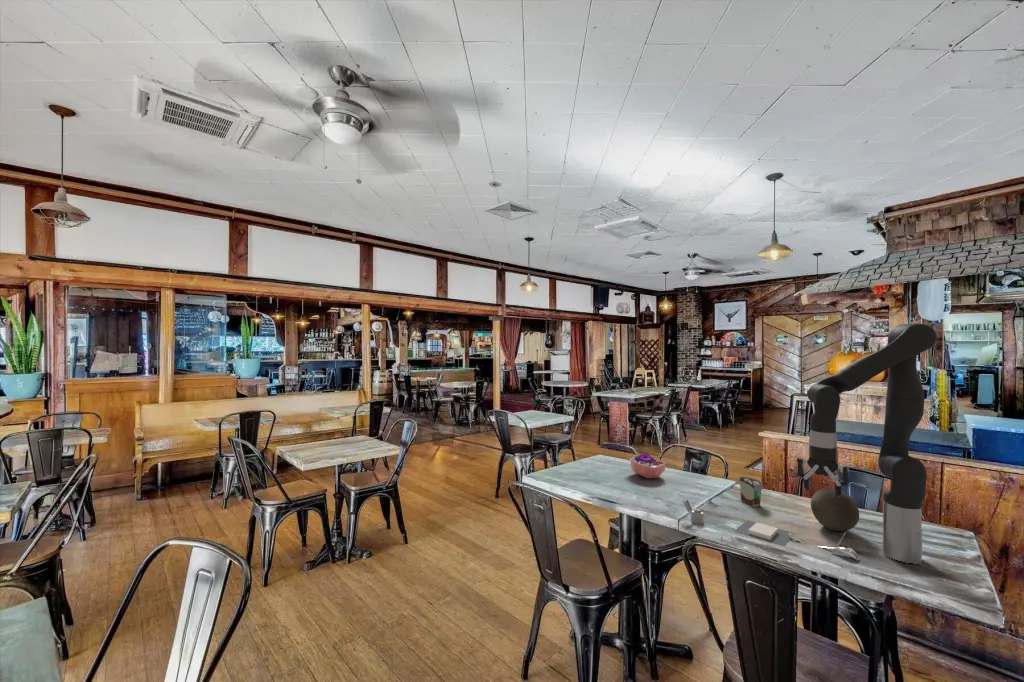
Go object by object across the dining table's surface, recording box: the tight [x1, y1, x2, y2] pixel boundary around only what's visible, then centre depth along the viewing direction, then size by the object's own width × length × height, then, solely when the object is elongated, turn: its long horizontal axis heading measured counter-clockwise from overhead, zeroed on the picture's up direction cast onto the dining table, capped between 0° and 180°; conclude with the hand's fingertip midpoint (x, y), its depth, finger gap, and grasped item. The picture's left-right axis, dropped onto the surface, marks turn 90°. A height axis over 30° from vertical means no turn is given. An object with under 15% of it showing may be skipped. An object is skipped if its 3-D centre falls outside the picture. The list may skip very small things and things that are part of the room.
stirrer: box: [788, 532, 860, 561], centre depth 145 cm, size 20×4×5 cm
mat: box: [734, 519, 796, 547], centre depth 157 cm, size 16×14×1 cm
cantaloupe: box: [810, 488, 860, 532], centre depth 159 cm, size 14×14×15 cm
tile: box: [748, 522, 779, 540], centre depth 155 cm, size 7×2×9 cm
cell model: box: [629, 452, 666, 479], centre depth 221 cm, size 17×20×11 cm
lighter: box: [682, 499, 705, 525], centre depth 166 cm, size 7×2×8 cm, turn 53°
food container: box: [738, 476, 764, 508], centre depth 185 cm, size 12×6×10 cm, turn 0°
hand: (822, 493), depth 145 cm, fingers open, 7 cm apart
